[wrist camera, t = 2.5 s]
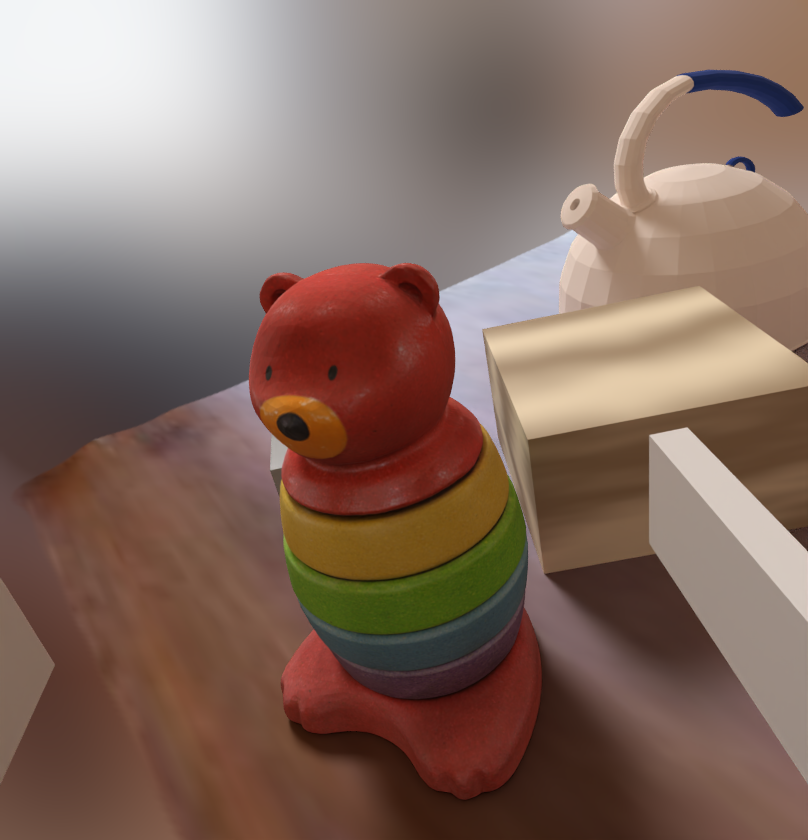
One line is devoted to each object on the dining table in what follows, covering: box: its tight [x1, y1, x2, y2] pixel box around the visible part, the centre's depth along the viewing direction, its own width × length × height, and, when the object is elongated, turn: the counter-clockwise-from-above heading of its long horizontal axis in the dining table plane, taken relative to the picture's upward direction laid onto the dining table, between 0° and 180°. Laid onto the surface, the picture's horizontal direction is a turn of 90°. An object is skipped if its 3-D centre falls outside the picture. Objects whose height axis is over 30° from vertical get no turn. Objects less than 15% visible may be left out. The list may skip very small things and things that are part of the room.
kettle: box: [559, 70, 808, 351], centre depth 50 cm, size 20×21×18 cm
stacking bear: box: [249, 263, 542, 800], centre depth 25 cm, size 11×10×18 cm
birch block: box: [482, 286, 808, 574], centre depth 36 cm, size 13×13×8 cm
